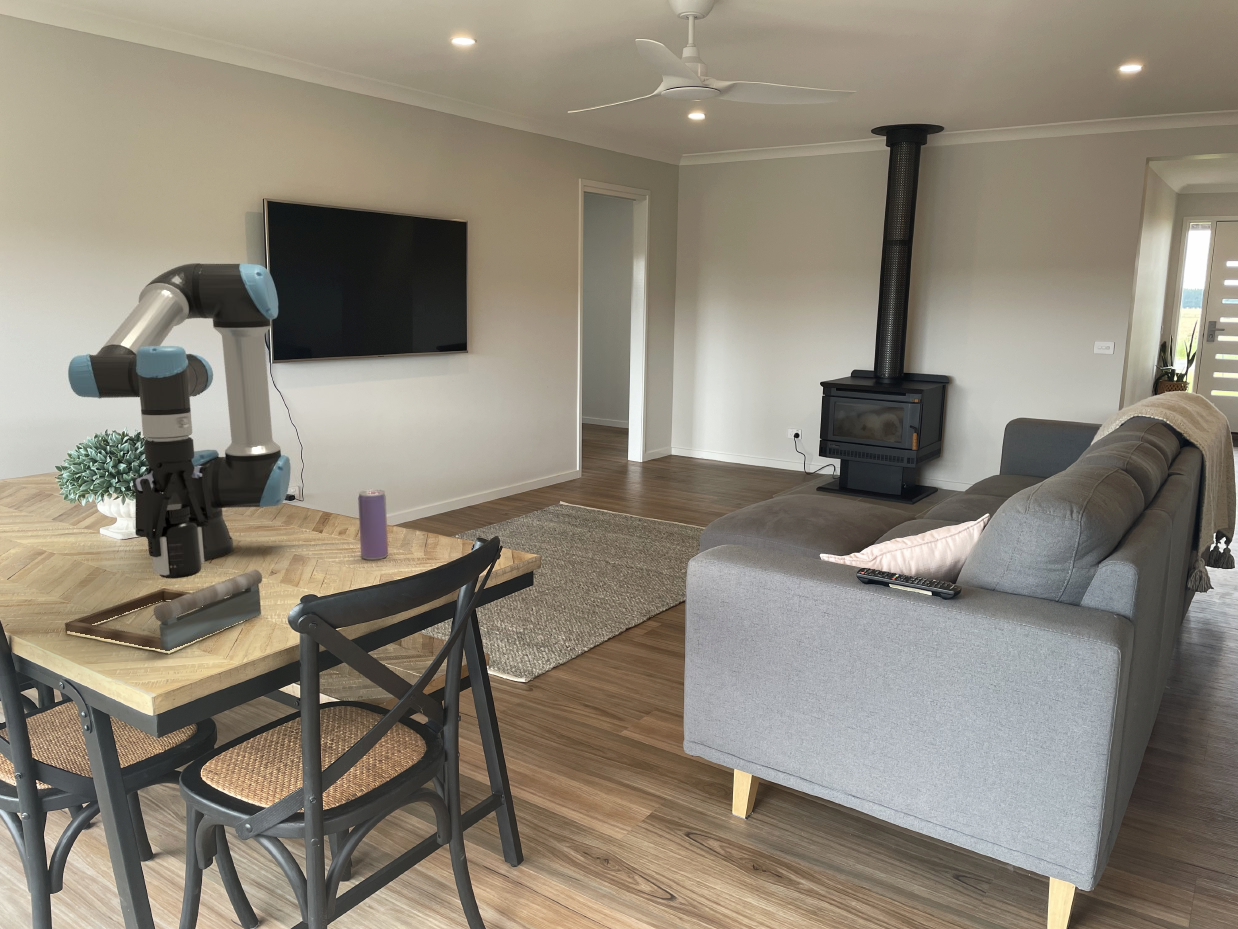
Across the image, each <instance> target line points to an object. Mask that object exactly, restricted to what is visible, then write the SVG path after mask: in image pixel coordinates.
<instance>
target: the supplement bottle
mask: <svg viewBox="0 0 1238 929" xmlns="http://www.w3.org/2000/svg"><path fill="white" fill-rule="evenodd" d="M190 516H191V513H190V507H189V505H186V504H173V505H168V507H167V512H166V517H165V521H164V526H163V531H162V536H161V537H166V541H167V553H168V564H169V574H168V575H160V574H158V575H159V577H161V578H162V579H163V578H164V579H184V578H189V577H192V576H194V575H195V576H196V575H197V574H199V573H200V572H201V570H202V564H201V555H200V544H199V534H198V525H197V523H196V522H195V521H194V520H192V519H189V517H190Z"/></svg>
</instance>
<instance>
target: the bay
mask: <svg viewBox="0 0 1238 929" xmlns="http://www.w3.org/2000/svg"><path fill="white" fill-rule="evenodd" d="M262 582H263V575H262V573H261V571H260V570H258V569H252V570H249V571H247V572H245V573H244V572H243V573H242V574H239V575H236V576H233V577H230V578H228V579H225V580H222V581H220V582H217V583H215V584H212V585H209V586H206V587H203V588H201V589H198V590H196V591H195V590H194V591H192V592H190V591H183V590H178V589H173V588H172V589H171V588H166V587H164V588H160V589H158V590H155V591H152V592H149V593H146V594H143V595H141V596H138V597H135V598H133V599H129V600H126V601H123V602H120V603H118V604H115V605H112V606H109V607H107V608H104V609H101V610H98V611H95V612H92V613H90V614H87V615H84V616H81V617H78V618H75V619H72V620H70V621H67V622H65V623H64V627H65V632H66V631H70V632H75V633H80V634H85V635H90V636H95V637H100V638H104V639H111V640H115V641H119V642H124V643H129V644H134V645H138V646H142V647H149V648H155V649H160V650H165V651H170V650H172V649H174V648H177V647H180V646H183V645H185V644H188V643H191V642H193V641H195V640H197V639H200V638H203V637H205V636H207V635H210V634H213V633H215V632H217V631H220V630H222V629H224V628H226V627H229V626H232V625H234V624H236V623H239V622H241V621H244V620H247V619H249V620H251V619H253V618H252V617H254V618H256V617H258V616H260V615H262V609H261V595H260V594H261V593H260V587H259V588H258V586H257V585H258V584H259V585H260V584H261V583H262ZM243 590H244V591H243ZM240 591H242V592H240ZM237 592H239V593H237ZM235 593H237V594H235ZM232 594H234V595H232ZM161 600H171V601H165V602H163V603H161V604H158V605H156V606H155V607H154V608H153V614H154V615H153V616H154V618H155V619H156V620H157V621H158V622H160V623H159V624H158V626H159V636H160V637H159V636H153V635H148V634H142V633H137V632H133V631H127V630H121V629H118V628H117V629H116V628H112V627H106V626H102V625H101V626H100V625H97V626H96V625H92V624H95V623H98V622H101V621H104V620H108V619H110V618H113V617H115V616H119V615H122V614H124V613H126V612H130V611H132V610H135V609H138V608H141V607H144V606H147V605H149V604H153V603H156V602H159V601H161ZM159 603H160V602H159ZM202 606H203V607H202ZM255 616H256V617H255ZM250 618H251V619H250ZM247 621H248V620H247Z"/></svg>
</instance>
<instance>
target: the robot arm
mask: <svg viewBox="0 0 1238 929" xmlns="http://www.w3.org/2000/svg"><path fill="white" fill-rule="evenodd" d="M277 293H278V292H277V290H276V286H275V283H274V280H273V277H272V275H271V273H270V271H269V270H268V269H267V268H265V267H264V266H263V265H260V264H252V263H251V264H250V263H244V262H242V263H198V262H197V263H193V262H192V263H187V264H186V263H185V264H181V265H178V266H175V267H174V268H171V269H168V270H167V271H165V272H163V273H161V274H159V275H158V276H157V277H155V278H154V279H153V278H152V280H151V281H150V282H149V283H148V284H147V285H145V287H144V288H143V289H142V290H141V292H140V294H139V297H138V304H137V305H136V306H135V307H134V309H133V310H132V311H131V312H130V313H129V315H128V316H127V317H126V318H125V319H124V321H123V322H122V323H121V325H120V326H119V327H118V328H117V329H116V330H115V332H114V333H113V334H112V335H111V336H110V337H109V338H108V340H107V341H106V342H105V343H104V345H103V346H102V347H101V348H100V350H99V351H98V352H97V353H96V354H90V353H87V354H81V355H76V356H74V357H73V358H72V359H71V360H70V362H69V364H68V365H69V366H68V371H67V375H68V376H67V377H68V381H69V382H68V383H69V385H70V388H71V390H72V392H74V394H75V395H77V396H78V397H81V398H97V399H106V398H107V399H109V398H111V399H113V398H114V399H115V398H116V399H117V398H121V399H122V398H139V400H140V401H139V402H140V413H141V414H140V416H141V427H142V436H143V438H145V439H146V438H147V439H146V440H144V442H143V447H144V449H143V450H144V458H145V461H146V462H147V464H148V470H147V474H146V475H144V476H142V477H134V478H133V479H132V486H133V488H134V492H135V528H134V529H135V535H136V537H142V538H146V539H147V545H148V546H147V547H148V555H149V556H150V557H151V558H152V569H153V574H154V575H159V574H160V575H168V574H169V564H168V553H167V541H166V537H161V536H162V531H163V526H164V521H165V517H166V512H167V507H168V505H173V504H186V505H189V507H190V513H191V516H190V517H189V519H192V520H194V521H195V522H196V523H197V525H198V534H199V544H200V555H201V565H202V564H205V561H208V560H212V559H213V560H214V559H217V558H221V557H224V556H227V555H229V554H231V553H232V552H233V551H234V549H235V548H234V539H233V538H232V536H231V534H230V531H229V529H228V526H227V524H226V522H225V519H224V515H223V509H230V508H231V509H233V508H235V509H236V508H260V509H263V508H268V507H278V506H280V505H281V504H283V503H284V502H285V499H286V497H287V494H288V493H289V492H288V491H289V487H290V481H291V470H292V469H291V468H292V467H291V462H290V458H289V456H288V455H285V454H282V453H281V452H282V451H281V450H282V449H281V446H280V445H279V444H278V443H276V442H275V441H274V440H273V439H274V438H273V429H272V416H271V404H270V390H269V380H268V378H269V377H268V367H267V366H268V364H267V354H266V352H267V351H266V339H265V334H266V333H267V332H268V330H270V329H271V327H272V323H271V321H273V320H274V319H277V317H278V315H279V298H278V294H277ZM191 319H211V320H212V324H213V325H212V326H213V329H214V330H215V331H217V333H219V334H220V335H221V341H222V342H221V343H222V351H223V363H224V365H223V366H224V372H225V373H224V374H225V383H226V384H225V385H226V394H227V396H226V397H227V405H228V406H227V407H228V419H229V428H230V438H231V439H230V440H231V443H230V444H229V446H227V448H226V449H225V450H224V455H225V456H219V455H220V454H219V452H218V450H217V449H204V450H203V449H201V450H196V451H195V445H194V444H195V443H194V439H193V438H192V437H191V435H192V434H193V424H192V411H191V410H192V409H191V397H192V398H193V397H196V396H198V395H199V396H200V395H201V394H203V393H204V392H205V391H207V390H208V389H209V388H210V387H211V386H212V383H213V380H214V373H213V372H214V371H213V368H212V366H211V364H210V363H209V362H208V360H206V358H204V357H203V356H200V355H198V354H193V353H186V350H185V348H184V347H183V346H179V345H177V346H176V345H162V344H163V342H164V341H165V340H166V338H167V337H168V335H169V334H170V333H171V331H172V330H173V328H174V327H176V326H179V325H181V324H183V323H184V322H185V321H186V320H191ZM160 575H159V576H160Z"/></svg>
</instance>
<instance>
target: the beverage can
mask: <svg viewBox="0 0 1238 929" xmlns="http://www.w3.org/2000/svg"><path fill="white" fill-rule="evenodd" d="M386 496H387V495H386V492H385V490H382V489H367V490H362V491H359V492H358V498H357V501H358V503H357V504H358V521H359V542H360V543H359V544H360V556H361V558H362V559H363V560H367V561H378V560H383V559H385V558H387V556H388V555H389V544H388V543H389V541H388V540H389V539H388V516H387V513H388V512H387V497H386Z"/></svg>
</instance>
